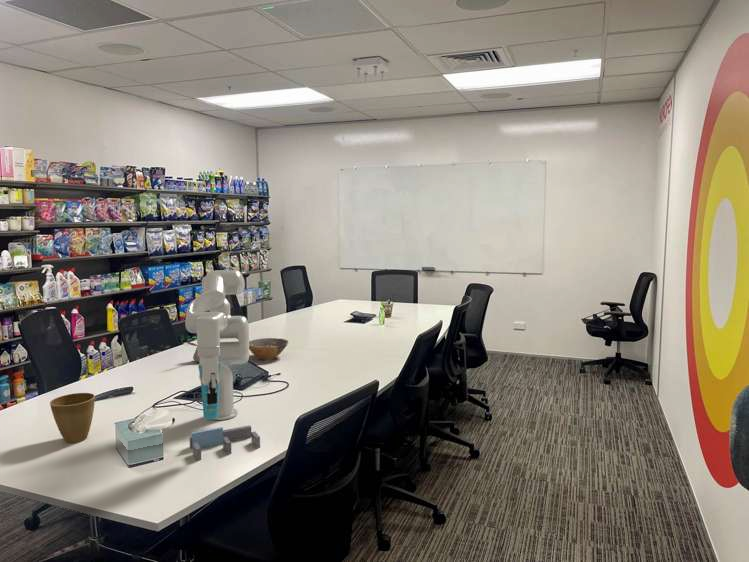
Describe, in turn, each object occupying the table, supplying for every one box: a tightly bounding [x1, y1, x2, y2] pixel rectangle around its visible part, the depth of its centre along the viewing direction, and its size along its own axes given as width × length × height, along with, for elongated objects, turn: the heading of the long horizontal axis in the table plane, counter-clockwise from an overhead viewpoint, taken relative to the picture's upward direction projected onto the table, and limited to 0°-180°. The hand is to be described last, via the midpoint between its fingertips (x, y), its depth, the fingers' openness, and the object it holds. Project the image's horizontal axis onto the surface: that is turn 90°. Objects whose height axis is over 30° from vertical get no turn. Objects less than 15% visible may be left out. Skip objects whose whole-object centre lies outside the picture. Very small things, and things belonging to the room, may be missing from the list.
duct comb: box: [188, 424, 261, 461], centre depth 199 cm, size 13×22×6 cm, turn 119°
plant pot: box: [49, 392, 96, 444], centre depth 206 cm, size 15×15×16 cm
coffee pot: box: [184, 341, 200, 363], centre depth 314 cm, size 21×12×15 cm, turn 164°
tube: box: [198, 363, 221, 420], centre depth 191 cm, size 7×5×19 cm, turn 113°
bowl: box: [249, 337, 289, 361], centre depth 327 cm, size 25×25×10 cm
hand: (210, 401), depth 192 cm, fingers closed on tube, 4 cm apart
